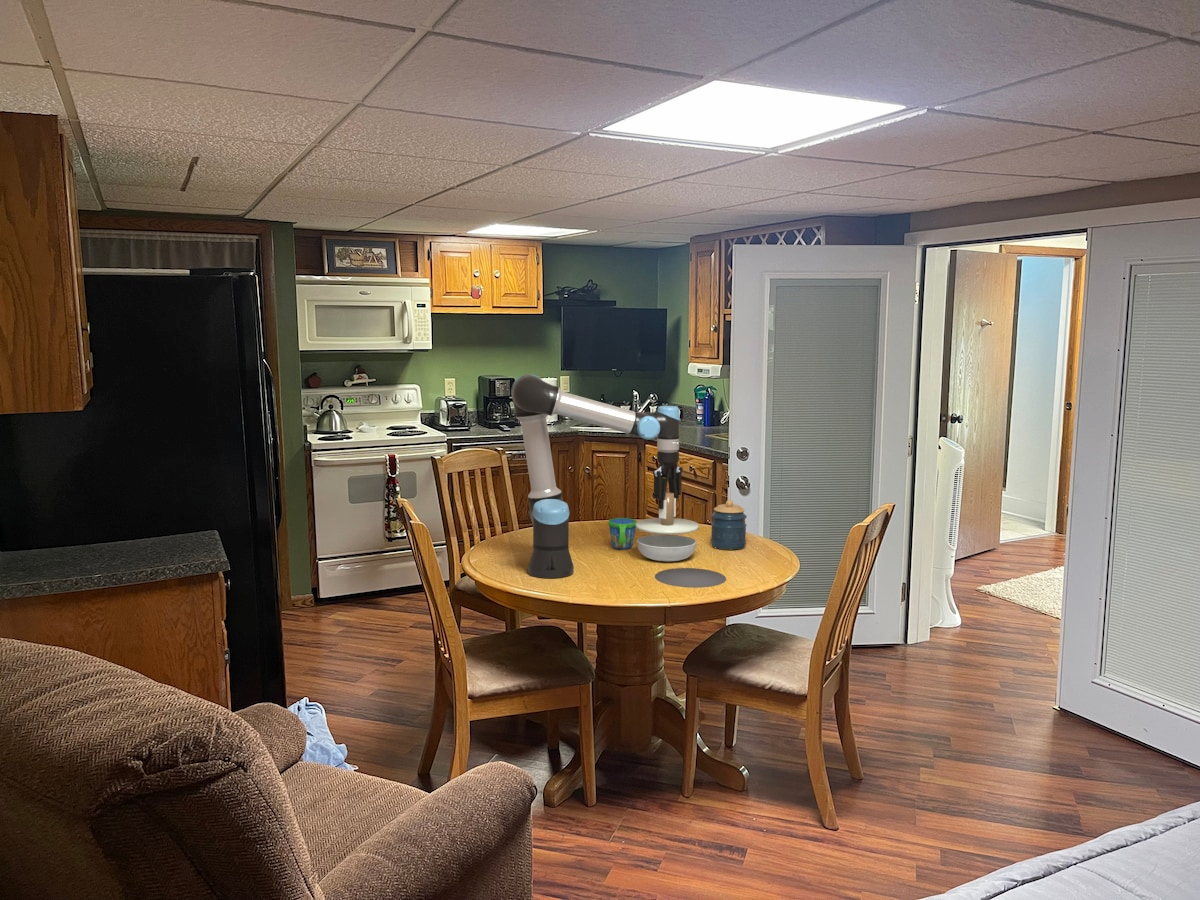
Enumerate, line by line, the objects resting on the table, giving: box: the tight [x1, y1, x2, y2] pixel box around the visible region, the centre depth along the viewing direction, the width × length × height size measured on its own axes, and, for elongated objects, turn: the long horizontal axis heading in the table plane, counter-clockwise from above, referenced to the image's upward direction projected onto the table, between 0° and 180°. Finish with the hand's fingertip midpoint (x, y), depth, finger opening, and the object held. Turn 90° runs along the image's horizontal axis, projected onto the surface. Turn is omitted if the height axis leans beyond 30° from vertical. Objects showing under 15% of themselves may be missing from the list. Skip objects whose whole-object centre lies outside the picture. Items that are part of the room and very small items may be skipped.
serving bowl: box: [636, 534, 697, 563], centre depth 309 cm, size 21×21×7 cm
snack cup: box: [607, 517, 638, 550], centre depth 325 cm, size 16×10×10 cm
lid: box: [635, 491, 700, 535], centre depth 307 cm, size 22×22×12 cm
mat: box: [654, 567, 727, 589], centre depth 284 cm, size 23×23×1 cm
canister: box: [710, 499, 748, 550], centre depth 328 cm, size 13×13×18 cm
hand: (667, 516), depth 308 cm, fingers closed on lid, 4 cm apart
